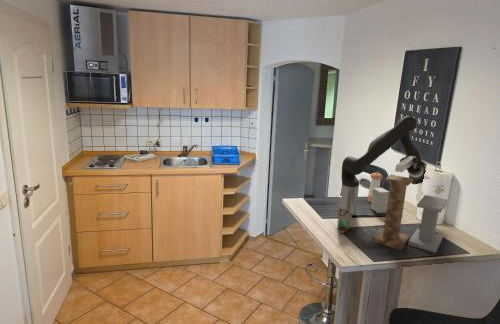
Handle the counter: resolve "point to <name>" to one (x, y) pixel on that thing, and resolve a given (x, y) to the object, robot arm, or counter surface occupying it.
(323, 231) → the counter surface
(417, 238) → the stand
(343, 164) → the robot arm
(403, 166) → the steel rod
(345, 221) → the food container
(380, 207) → the small box
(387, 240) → the tall stand
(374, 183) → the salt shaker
